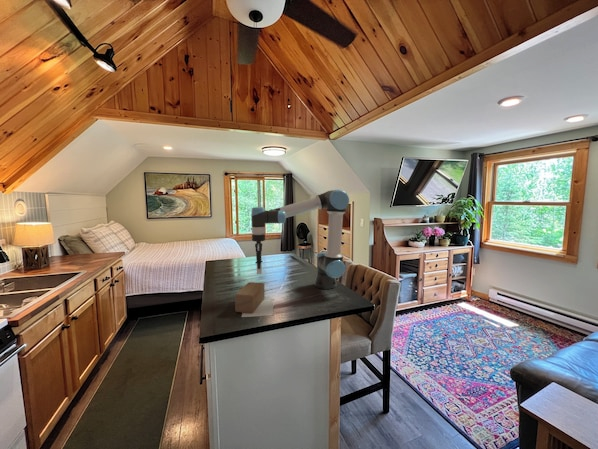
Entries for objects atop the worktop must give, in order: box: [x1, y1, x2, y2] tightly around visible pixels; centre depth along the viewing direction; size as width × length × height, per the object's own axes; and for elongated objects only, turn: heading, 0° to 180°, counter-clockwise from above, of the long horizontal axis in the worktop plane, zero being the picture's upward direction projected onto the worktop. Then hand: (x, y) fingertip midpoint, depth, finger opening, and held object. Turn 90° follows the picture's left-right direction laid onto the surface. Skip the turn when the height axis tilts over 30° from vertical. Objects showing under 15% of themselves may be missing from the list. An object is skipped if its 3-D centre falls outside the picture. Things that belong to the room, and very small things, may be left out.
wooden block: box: [234, 281, 266, 313], centre depth 138 cm, size 10×10×20 cm
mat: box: [241, 298, 274, 318], centre depth 136 cm, size 16×21×1 cm
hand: (259, 273), depth 147 cm, fingers closed
